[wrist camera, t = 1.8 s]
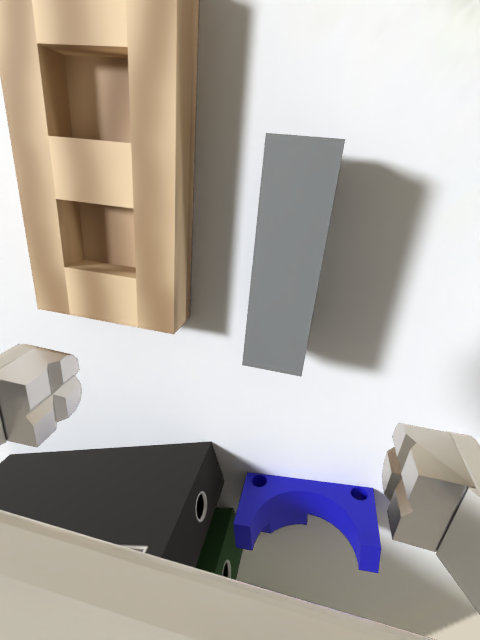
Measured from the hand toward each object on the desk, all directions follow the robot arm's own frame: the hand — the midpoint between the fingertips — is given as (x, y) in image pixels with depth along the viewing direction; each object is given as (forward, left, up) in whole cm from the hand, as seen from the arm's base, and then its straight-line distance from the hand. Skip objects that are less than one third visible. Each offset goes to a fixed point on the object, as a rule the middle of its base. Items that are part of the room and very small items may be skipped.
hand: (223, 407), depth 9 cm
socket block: (+14, -4, -19) cm, 24 cm away
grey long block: (0, 0, -19) cm, 19 cm away
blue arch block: (-5, +24, -20) cm, 32 cm away
